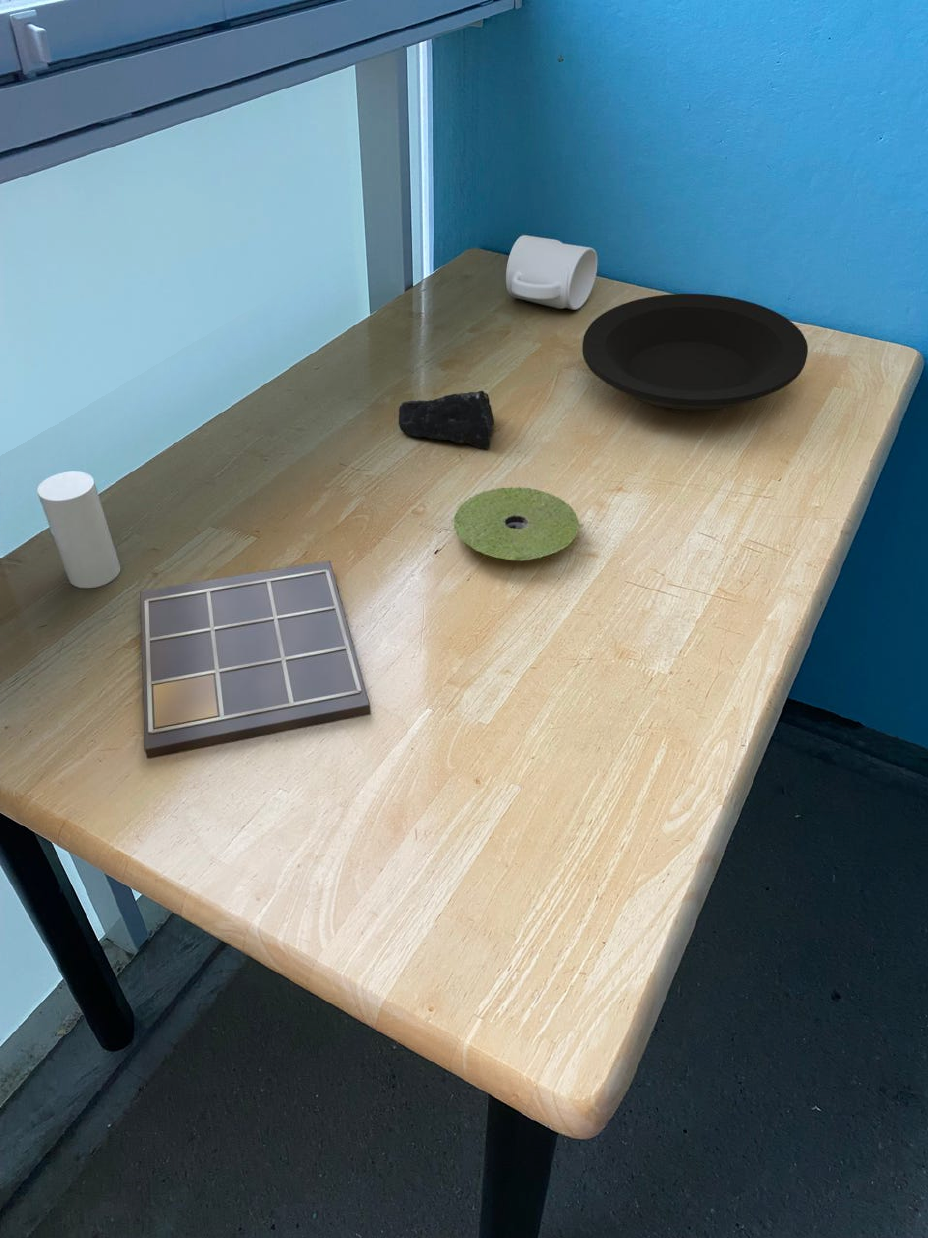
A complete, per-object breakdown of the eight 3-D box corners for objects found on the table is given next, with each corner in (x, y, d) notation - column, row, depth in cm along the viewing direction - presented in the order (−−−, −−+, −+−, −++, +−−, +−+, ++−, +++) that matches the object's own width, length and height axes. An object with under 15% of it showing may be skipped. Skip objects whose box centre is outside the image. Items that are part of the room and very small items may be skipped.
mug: (532, 283, 130) (535, 224, 125) (594, 296, 127) (600, 236, 122) (493, 314, 122) (495, 253, 117) (559, 329, 119) (563, 266, 114)
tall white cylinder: (67, 592, 79) (35, 504, 73) (69, 561, 82) (38, 475, 77) (120, 583, 80) (93, 495, 74) (120, 553, 83) (94, 467, 77)
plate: (747, 472, 93) (759, 423, 90) (537, 411, 103) (540, 364, 99) (824, 365, 111) (836, 320, 108) (639, 321, 121) (645, 278, 117)
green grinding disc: (567, 584, 80) (568, 566, 79) (440, 566, 82) (440, 548, 81) (585, 512, 88) (586, 494, 87) (469, 496, 90) (469, 479, 89)
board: (147, 759, 65) (143, 748, 65) (142, 600, 79) (139, 590, 78) (370, 714, 69) (369, 704, 68) (331, 568, 82) (329, 558, 81)
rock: (412, 408, 103) (410, 359, 100) (503, 419, 102) (504, 369, 98) (394, 440, 98) (392, 389, 94) (489, 452, 96) (490, 401, 93)
